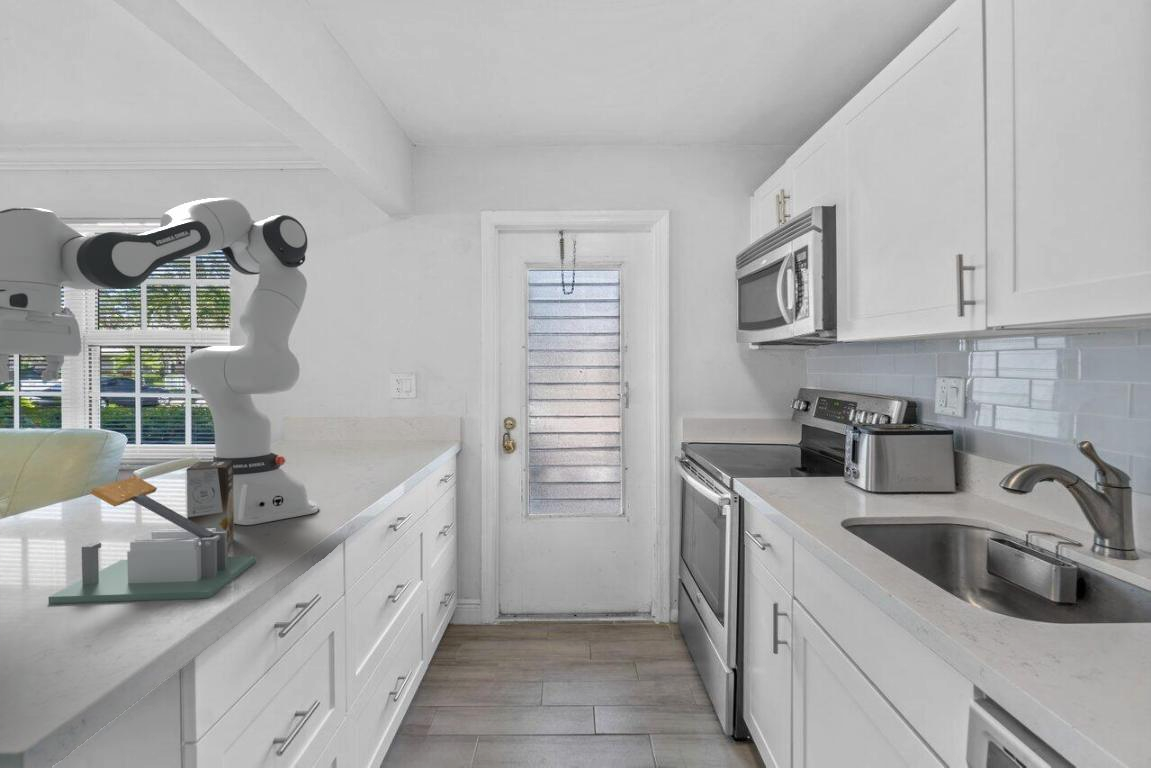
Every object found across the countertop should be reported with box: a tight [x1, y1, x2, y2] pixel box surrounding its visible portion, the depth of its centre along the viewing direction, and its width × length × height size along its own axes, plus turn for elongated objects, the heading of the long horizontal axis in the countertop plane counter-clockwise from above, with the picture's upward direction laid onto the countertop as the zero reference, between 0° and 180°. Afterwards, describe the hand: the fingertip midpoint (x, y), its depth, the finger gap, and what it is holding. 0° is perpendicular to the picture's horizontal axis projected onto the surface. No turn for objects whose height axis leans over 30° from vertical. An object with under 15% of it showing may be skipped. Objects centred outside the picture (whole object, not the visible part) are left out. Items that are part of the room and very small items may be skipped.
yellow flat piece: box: [90, 475, 214, 539], centre depth 93 cm, size 17×10×1 cm
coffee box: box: [186, 460, 235, 551], centre depth 110 cm, size 9×6×16 cm
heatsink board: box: [47, 528, 257, 605], centre depth 94 cm, size 22×16×7 cm
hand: (28, 381), depth 101 cm, fingers open, 8 cm apart
